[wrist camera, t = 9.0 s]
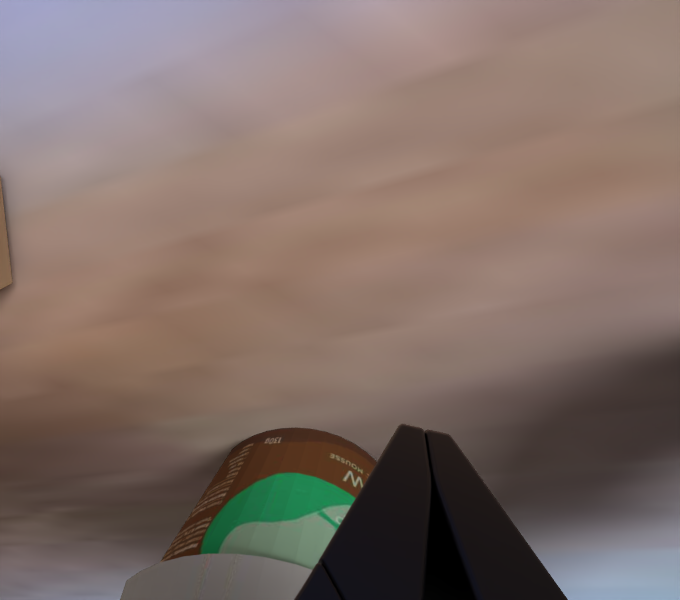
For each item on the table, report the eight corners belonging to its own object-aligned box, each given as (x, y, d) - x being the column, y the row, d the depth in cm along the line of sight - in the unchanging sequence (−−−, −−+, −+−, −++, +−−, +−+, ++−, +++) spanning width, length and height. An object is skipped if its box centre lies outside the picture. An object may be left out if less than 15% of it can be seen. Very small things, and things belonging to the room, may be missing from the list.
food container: (472, 510, 25) (510, 763, 16) (387, 564, 27) (377, 810, 18) (283, 358, 22) (199, 554, 13) (208, 432, 25) (93, 640, 16)
